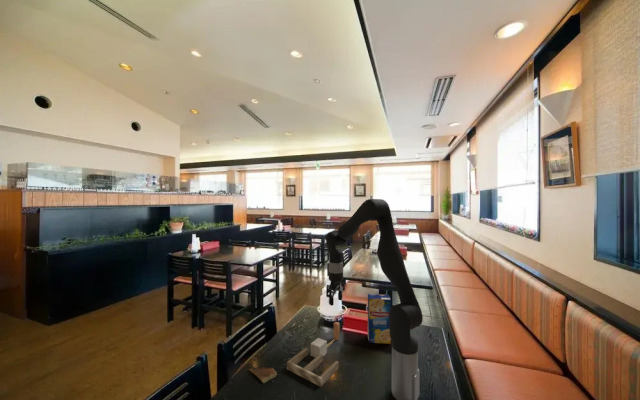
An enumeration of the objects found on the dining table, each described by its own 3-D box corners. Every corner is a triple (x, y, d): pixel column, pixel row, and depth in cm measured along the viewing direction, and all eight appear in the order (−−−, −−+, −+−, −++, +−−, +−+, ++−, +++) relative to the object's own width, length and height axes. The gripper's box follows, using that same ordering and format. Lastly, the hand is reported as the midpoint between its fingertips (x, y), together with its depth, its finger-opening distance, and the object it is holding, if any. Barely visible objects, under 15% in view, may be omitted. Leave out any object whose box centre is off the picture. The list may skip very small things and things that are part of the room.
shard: (248, 371, 105) (249, 367, 105) (264, 363, 110) (264, 359, 110) (262, 385, 97) (262, 380, 97) (279, 375, 103) (279, 371, 103)
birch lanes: (338, 368, 106) (338, 361, 106) (320, 387, 96) (320, 379, 96) (305, 354, 117) (305, 347, 117) (286, 369, 106) (286, 361, 106)
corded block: (342, 339, 130) (342, 323, 130) (319, 359, 113) (319, 341, 113) (333, 336, 132) (333, 321, 133) (310, 355, 116) (310, 338, 116)
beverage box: (391, 343, 126) (391, 299, 126) (368, 342, 127) (369, 298, 127) (388, 336, 133) (388, 294, 133) (367, 335, 134) (367, 294, 134)
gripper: (334, 275, 121) (334, 308, 121) (349, 268, 133) (349, 299, 133) (322, 272, 126) (321, 305, 125) (337, 266, 137) (336, 296, 137)
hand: (335, 302), depth 129 cm, fingers open, 8 cm apart
